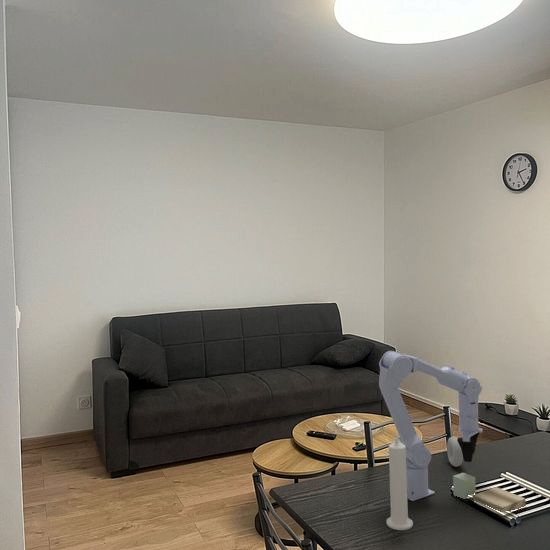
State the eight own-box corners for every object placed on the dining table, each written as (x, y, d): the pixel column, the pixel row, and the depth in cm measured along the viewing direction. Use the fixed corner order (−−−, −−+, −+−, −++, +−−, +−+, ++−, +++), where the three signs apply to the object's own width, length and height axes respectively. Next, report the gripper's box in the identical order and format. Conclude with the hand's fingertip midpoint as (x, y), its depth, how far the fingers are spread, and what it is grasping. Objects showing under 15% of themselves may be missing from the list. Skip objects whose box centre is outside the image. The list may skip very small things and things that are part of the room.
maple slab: (502, 518, 158) (502, 507, 158) (473, 505, 167) (473, 495, 167) (525, 508, 163) (525, 498, 163) (496, 496, 172) (496, 486, 172)
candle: (394, 515, 161) (391, 428, 160) (417, 522, 156) (414, 432, 155) (381, 525, 156) (378, 435, 154) (405, 533, 151) (402, 440, 150)
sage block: (465, 500, 169) (464, 480, 169) (453, 495, 173) (453, 475, 172) (475, 496, 171) (475, 477, 171) (463, 491, 175) (463, 472, 175)
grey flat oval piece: (464, 471, 190) (464, 441, 190) (454, 471, 191) (453, 442, 190) (455, 460, 200) (455, 432, 200) (446, 460, 201) (445, 432, 200)
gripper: (479, 422, 170) (480, 467, 171) (484, 409, 183) (485, 451, 184) (455, 420, 173) (456, 464, 174) (461, 407, 186) (462, 448, 187)
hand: (469, 457), depth 179 cm, fingers open, 7 cm apart
